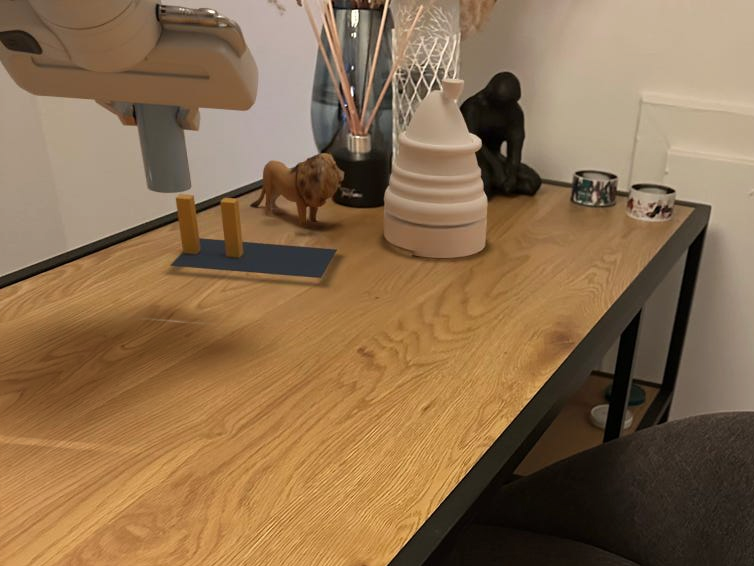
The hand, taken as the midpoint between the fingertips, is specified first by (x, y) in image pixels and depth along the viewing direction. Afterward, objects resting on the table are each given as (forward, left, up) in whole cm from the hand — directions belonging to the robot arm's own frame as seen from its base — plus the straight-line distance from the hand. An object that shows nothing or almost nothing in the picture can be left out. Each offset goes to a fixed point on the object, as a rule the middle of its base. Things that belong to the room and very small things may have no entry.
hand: (162, 121), depth 85 cm
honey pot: (+22, +30, -18) cm, 41 cm away
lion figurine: (+4, +33, -18) cm, 37 cm away
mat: (+3, +17, -18) cm, 24 cm away
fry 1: (-5, +17, -17) cm, 24 cm away
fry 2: (0, +17, -17) cm, 24 cm away
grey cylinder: (0, -1, -5) cm, 5 cm away
